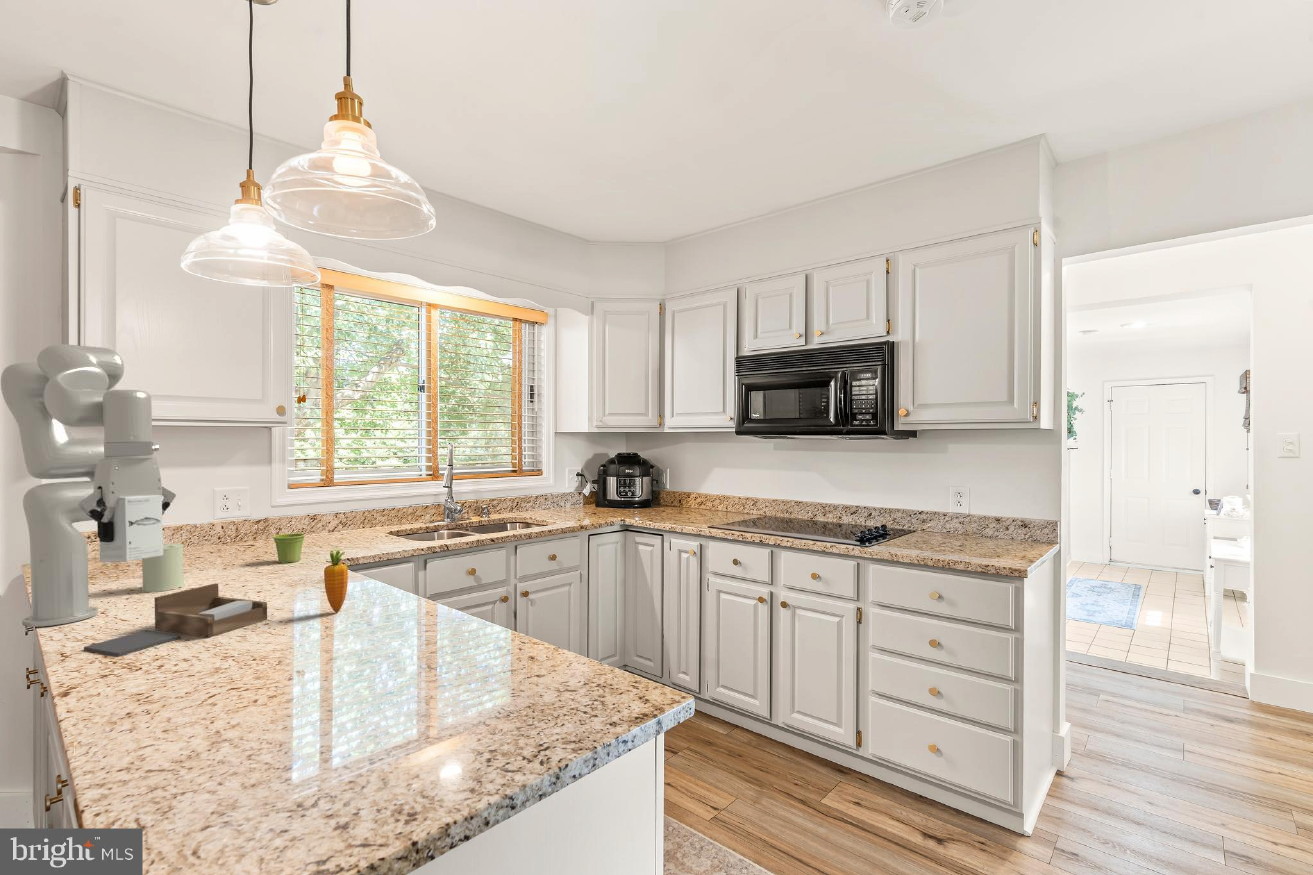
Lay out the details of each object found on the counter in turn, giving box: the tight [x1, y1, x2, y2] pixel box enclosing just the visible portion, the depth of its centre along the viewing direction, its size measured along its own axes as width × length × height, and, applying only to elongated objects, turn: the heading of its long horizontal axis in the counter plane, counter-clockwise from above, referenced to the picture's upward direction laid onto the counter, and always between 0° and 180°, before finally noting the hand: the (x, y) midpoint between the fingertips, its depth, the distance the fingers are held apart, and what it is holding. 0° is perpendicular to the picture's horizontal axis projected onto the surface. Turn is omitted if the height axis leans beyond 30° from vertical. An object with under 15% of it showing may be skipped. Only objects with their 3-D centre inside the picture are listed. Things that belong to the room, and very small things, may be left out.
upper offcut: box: [198, 601, 252, 621], centre depth 136 cm, size 4×10×2 cm, turn 169°
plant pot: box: [272, 533, 306, 564], centre depth 206 cm, size 9×9×9 cm
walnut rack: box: [154, 583, 268, 639], centre depth 138 cm, size 17×13×7 cm
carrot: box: [323, 549, 349, 614], centre depth 146 cm, size 5×5×15 cm
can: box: [141, 543, 185, 593], centre depth 172 cm, size 9×9×12 cm
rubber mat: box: [83, 629, 182, 657], centre depth 126 cm, size 11×11×1 cm
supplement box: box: [98, 495, 164, 563], centre depth 126 cm, size 7×7×13 cm
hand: (130, 537), depth 126 cm, fingers closed on supplement box, 7 cm apart
